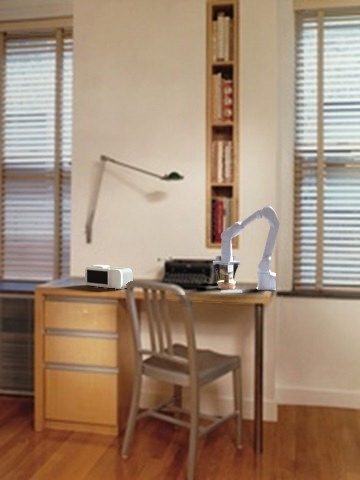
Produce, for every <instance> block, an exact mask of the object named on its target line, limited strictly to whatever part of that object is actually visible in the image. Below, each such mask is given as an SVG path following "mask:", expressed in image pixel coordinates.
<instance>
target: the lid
mask: <svg viewBox="0 0 360 480" xmlns="http://www.w3.org/2000/svg"><path fill="white" fill-rule="evenodd" d="M217 283H218V284H235V285H236V284H237V282H236V280H234V281H229V274H224V281H217ZM218 284H217V285H218Z"/></svg>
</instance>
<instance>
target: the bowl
mask: <svg viewBox="0 0 360 480" xmlns="http://www.w3.org/2000/svg"><path fill="white" fill-rule="evenodd" d="M235 288H236V284H217V289H220V290H235Z"/></svg>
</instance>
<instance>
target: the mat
mask: <svg viewBox="0 0 360 480" xmlns="http://www.w3.org/2000/svg"><path fill="white" fill-rule="evenodd" d="M220 293H222V294H243V293H244V292H243V290H242V289H220Z"/></svg>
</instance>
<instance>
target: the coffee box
mask: <svg viewBox="0 0 360 480" xmlns="http://www.w3.org/2000/svg"><path fill="white" fill-rule="evenodd" d="M215 261H221V255H217V256H215ZM232 261H235V256H234V255H232ZM223 264H230V263H223ZM224 274H229V281H235V278H233V265H220V278H219V276H218V272H217V281H224ZM216 285H218V283H217V284H216Z"/></svg>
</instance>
